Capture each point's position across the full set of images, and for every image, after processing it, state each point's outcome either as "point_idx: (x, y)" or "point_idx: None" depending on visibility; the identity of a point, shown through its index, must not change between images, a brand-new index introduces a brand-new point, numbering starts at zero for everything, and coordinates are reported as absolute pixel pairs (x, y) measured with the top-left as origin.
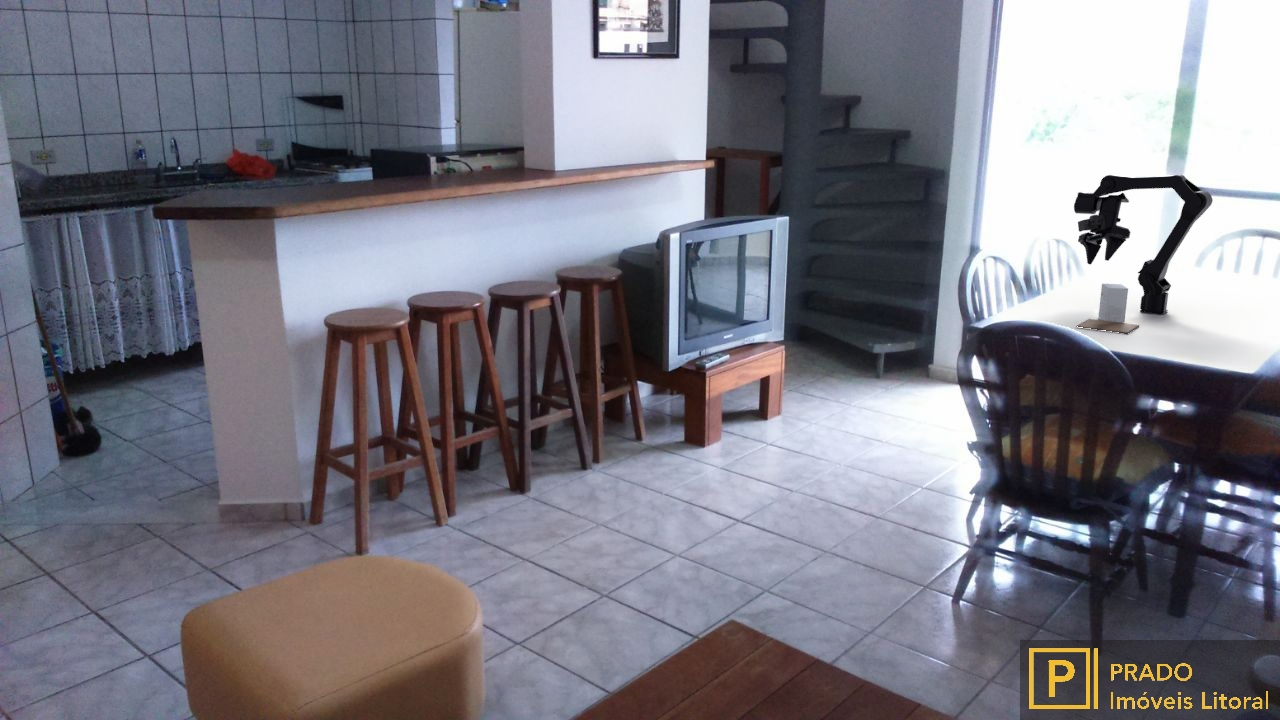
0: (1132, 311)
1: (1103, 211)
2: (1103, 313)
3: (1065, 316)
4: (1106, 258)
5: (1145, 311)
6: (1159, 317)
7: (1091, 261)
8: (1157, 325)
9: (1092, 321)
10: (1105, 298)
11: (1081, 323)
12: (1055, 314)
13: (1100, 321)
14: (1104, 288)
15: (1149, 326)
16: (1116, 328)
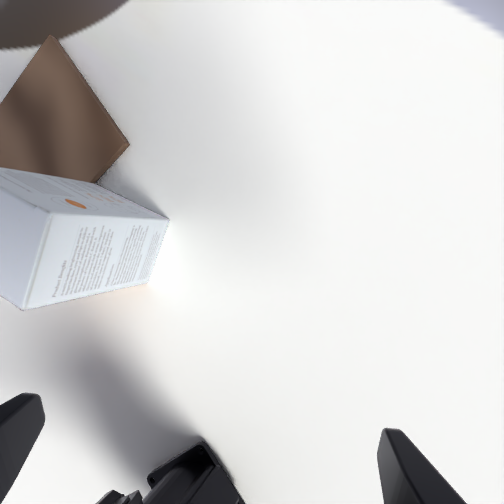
0: (229, 430)
1: None
2: (96, 190)
3: (209, 91)
4: (11, 406)
5: (187, 451)
6: (125, 430)
7: (385, 487)
8: (41, 324)
9: (86, 127)
10: (32, 178)
11: (70, 70)
12: (252, 66)
13: (82, 157)
14: (20, 189)
15: None
16: (3, 148)
